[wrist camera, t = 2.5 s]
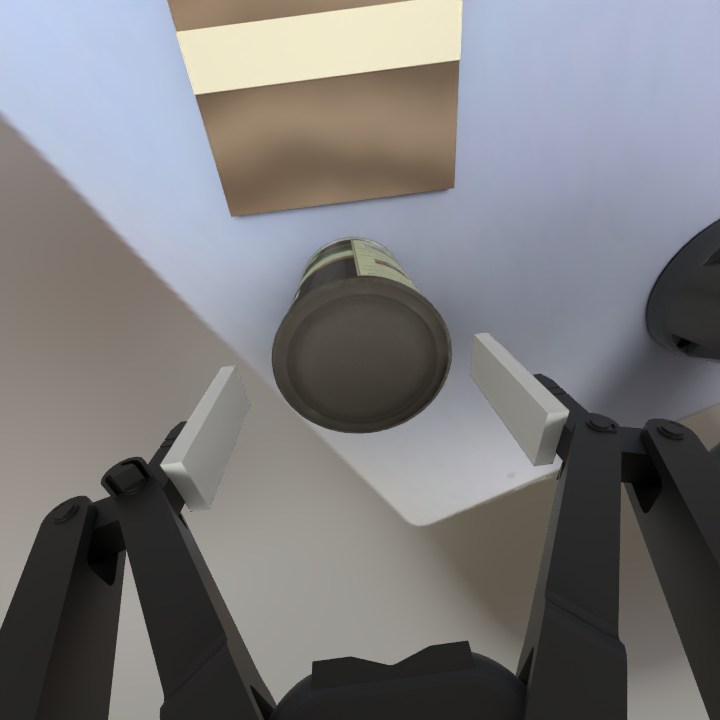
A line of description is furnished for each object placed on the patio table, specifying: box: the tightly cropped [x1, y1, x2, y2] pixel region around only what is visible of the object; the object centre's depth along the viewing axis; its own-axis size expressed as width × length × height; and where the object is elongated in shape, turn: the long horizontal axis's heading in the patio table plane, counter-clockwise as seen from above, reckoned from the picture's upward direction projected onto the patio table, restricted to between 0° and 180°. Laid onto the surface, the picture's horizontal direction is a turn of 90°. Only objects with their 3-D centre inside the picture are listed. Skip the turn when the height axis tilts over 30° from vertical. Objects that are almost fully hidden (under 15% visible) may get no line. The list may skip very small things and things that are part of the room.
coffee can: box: [272, 237, 452, 433], centre depth 23 cm, size 10×10×14 cm
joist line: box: [176, 0, 463, 95], centre depth 19 cm, size 3×18×1 cm, turn 96°
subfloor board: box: [167, 0, 459, 217], centre depth 21 cm, size 16×18×2 cm
